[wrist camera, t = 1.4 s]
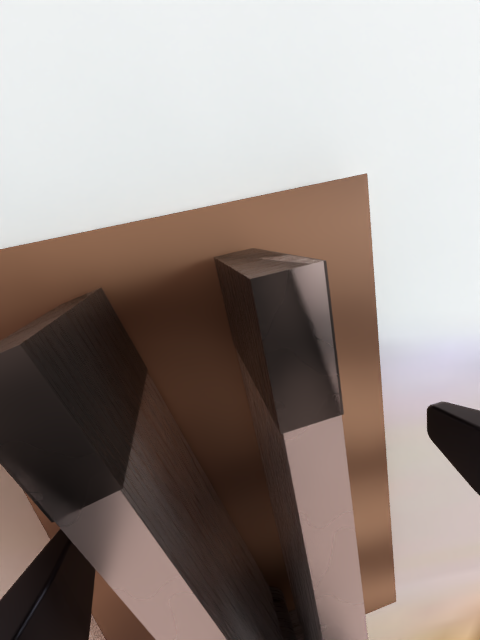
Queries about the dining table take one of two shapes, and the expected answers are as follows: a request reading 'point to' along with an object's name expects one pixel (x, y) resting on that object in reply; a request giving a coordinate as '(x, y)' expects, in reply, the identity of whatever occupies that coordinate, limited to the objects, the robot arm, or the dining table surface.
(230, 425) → the board
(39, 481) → the tongs arm
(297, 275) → the frame
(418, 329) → the dining table surface
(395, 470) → the dining table surface
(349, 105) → the dining table surface
